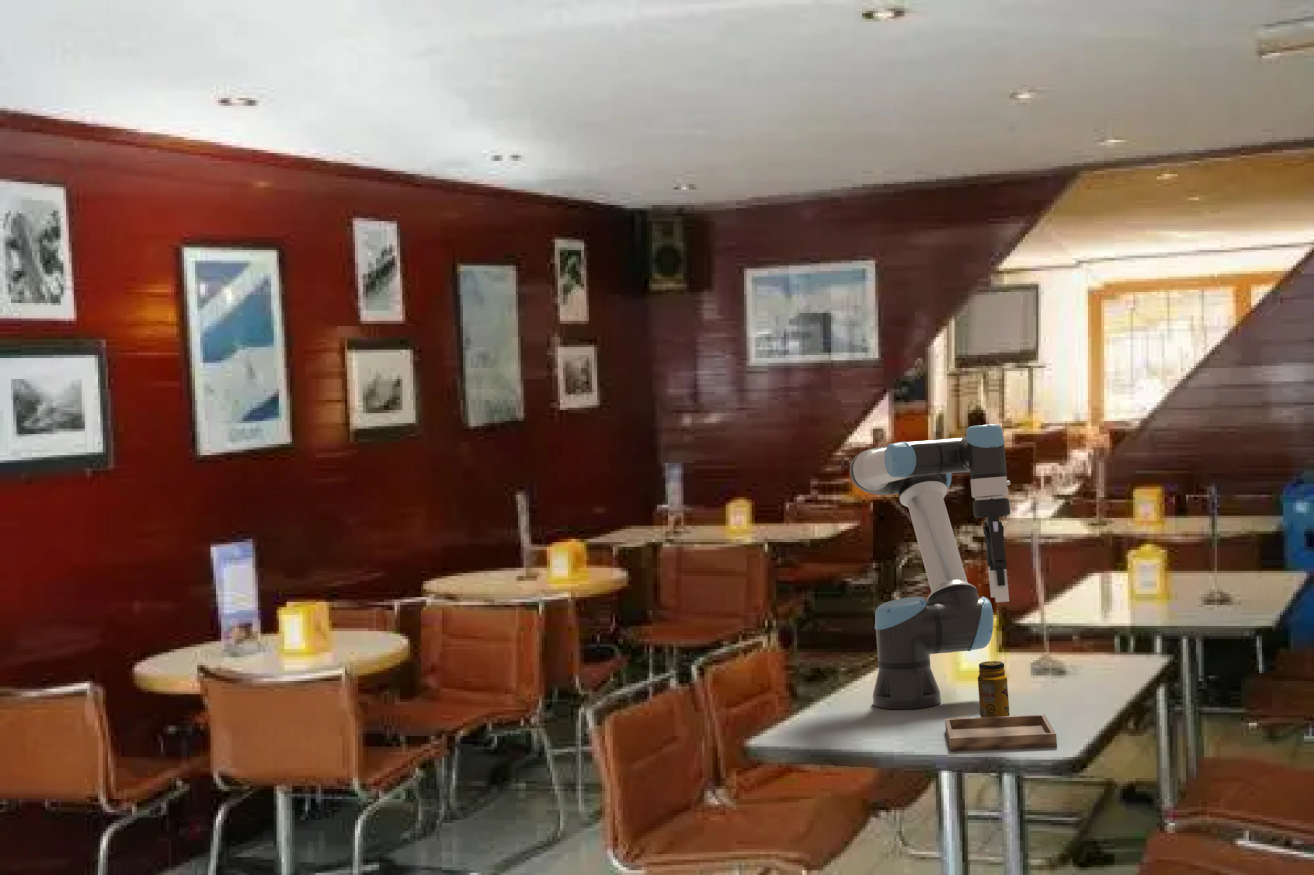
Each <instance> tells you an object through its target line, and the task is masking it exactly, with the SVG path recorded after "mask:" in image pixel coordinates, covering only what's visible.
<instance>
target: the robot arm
mask: <svg viewBox="0 0 1314 875" xmlns="http://www.w3.org/2000/svg"><path fill="white" fill-rule="evenodd" d="M1004 438H1005V437H1004V432H1003V428H1002V426H1001V425H1000V424H998V423H997V424H996V423H995V424H994V423H993V424H983V425H980V424H979V425H972V426H968V427H967V429H966V436H965V437H954V438H953V437H952V438H942V439H941V438H939V439H932V440H915V441H899V442H895V443H889V444H888V445H887V446H879V447H873V448H870V449H866V450H863V451H861V452H860V453H858V454H857V455H855V456H854V458H853V459H852V461H851V462H850V466H849V476H850V480H851V481H852V482H853V484H854V486H855V487H856V488H858V489H859V490H861V491H863V492H865V493H868V494H870V495H871V494H872V495H876V496H878V495H879V496H886V495H888V496H889V495H898V499H899V502H900V504H901V505H902V506H904V507H906V508H908V511H909V514H910V518H911V522H912V526H913V530H914V533H915V537H916V541H917V544H918V547H919V552H920V556H921V559H922V562H923V566H924V569H925V570H924V571H925V573H926V577H927V581H928V584H929V585H928V586H929V588H930V594H929V595H928V597H927V600H926V598H925V597H923V596H911V597H908V596H907V597H903V598H897V599H893V600H889V601H887V602H884V603H882V604H880V605H879V606H877V607H876V608H875V612H874V613H875V614H874V617H875V618H874V629H875V638H876V649H877V650H876V652H877V664H878V665H877V666H878V672H877V675H876V681H875V684H874V688H873V691H872V702H873V705H874V707H877V708H881V709H887V710H888V709H889V710H890V709H891V710H912V709H923V708H927V707H928V708H929V707H932V706H933V707H934V706H936V705H938V704H940V703H941V701H942V700H941V699H942V698H941V691H940V688H939V685H938V683H937V681H936V678H935V675H934V674H933V670H932V668H931V666H932V665H931V655H934V654H935V655H937V654H947V653H958V652H972V651H974V650H982V649H984V648H986V647H987V646H988V645H989V644H990V642H991V640H992V636H993V633H994V632H993V631H994V610H993V606H992V603H991V601H990V599H988V597H985V596H979V593H978V590H977V587H976V586H975V585H973V584H971V583H969V582H968V578H967V576H966V572H965V569H964V565H963V560H962V558H961V554H960V550H959V547H958V544H957V541H956V537H955V533H954V531H953V527H952V524H951V521H950V517H949V514H948V510H947V506H946V503H945V500H944V499H945V497H946V495H947V494H948V489H949V487H950V486H951V484H952V474H957V473H964V474H965V473H969V474H970V490H971V491H970V492H971V497H972V499H974V500H973V502H972V509H973V516H974V518H976V519H984V518H985V520H984V523H983V526H982V531H983V535H984V542H985V546H986V549H985V550H986V559H985V560H986V564H987V570H988V571H987V572H988V580H989V584H988V585H989V592H990V593H989V594H990V598H994V599H995V603H1007V602H1010V594H1009V593H1010V592H1009V582H1008V571H1007V566H1008V562H1007V559H1006V551H1005V550H1006V549H1005V536H1004V534H1005V529H1004V528H1005V527H1004V524H1003V522H1002V521H1001V520H1000V518H999V517H1007V516H1010V515H1011V506H1010V505H1011V504H1010V499H1009V498H1007V497H1006V496H1007V495H1009V487H1008V486H1010V485H1011V481H1010V480H1008V477H1007V476H1008V475H1007V474H1008V473H1007V462H1006V450H1005V449H1006V448H1005V443H1006V442H1005V439H1004Z"/></svg>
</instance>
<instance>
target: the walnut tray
mask: <svg viewBox="0 0 1314 875" xmlns="http://www.w3.org/2000/svg"><path fill="white" fill-rule="evenodd" d="M980 717H981V716H980ZM944 722H945V723H944V725H945V733H946V738H947V742H948V745H949V749H950V752H963V751H964V752H966V751H967V752H968V751H985V750H987V751H989V750H992V751H994V750H1013V749H1037V748H1039V749H1040V748H1057V747H1058V741H1057V738H1058V737H1057V733H1056V730H1055V729H1054V728H1053V726H1052V724H1051V723H1050V721H1049V719H1048V717H1047V716H1046V715H1045V714H1031V715H1009V716H1003V717H981V718H976V717H965V718H962V717H961V718H944Z"/></svg>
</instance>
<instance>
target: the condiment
mask: <svg viewBox="0 0 1314 875" xmlns="http://www.w3.org/2000/svg"><path fill="white" fill-rule="evenodd" d="M977 684H978V702H979V713H980V714H979V717H975V718H981V717H1003V716H1011V715H1010V704H1009V703H1010V701H1009V691H1008V690H1009V688H1008V676H1007V675H1006V670H1005V663H1004V662H1002V661H1000V660H999V661H997V660H991V661H982V662H980V663H979V664H978V676H977Z"/></svg>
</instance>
